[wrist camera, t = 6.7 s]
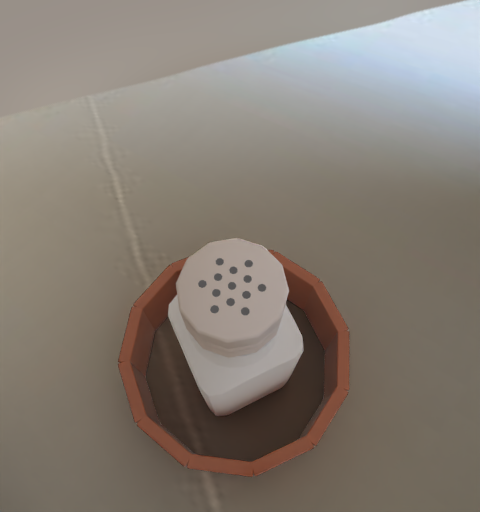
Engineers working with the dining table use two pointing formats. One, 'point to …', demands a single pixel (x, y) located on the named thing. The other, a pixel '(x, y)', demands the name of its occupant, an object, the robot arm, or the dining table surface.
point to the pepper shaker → (235, 323)
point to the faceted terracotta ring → (155, 313)
